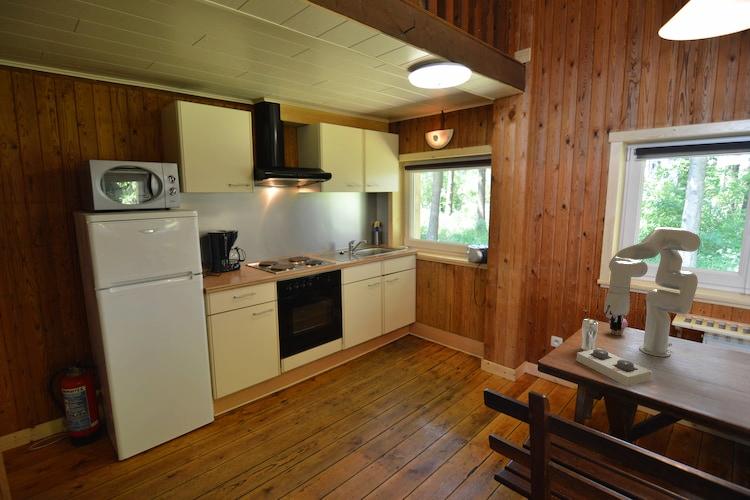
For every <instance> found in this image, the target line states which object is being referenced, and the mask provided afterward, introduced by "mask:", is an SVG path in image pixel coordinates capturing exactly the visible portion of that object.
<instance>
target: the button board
mask: <svg viewBox="0 0 750 500" xmlns="http://www.w3.org/2000/svg"><path fill="white" fill-rule="evenodd" d="M596 349H601V350H603V349H602V348H600V347H597V348H596ZM593 350H594V349H593ZM593 350H588V351H585V350H583V351H580V352H579V351H578V352H577V353H576V361H577V362H579V364H582V365H584V366H586V367H588V368H590V369H592V370H594V371H596V372H599V373H601V374H602V375H604V376H606V377H608V378H610V379H612V380H614V381H616V382H618V383H620V384H622V385H624V386H626V387H629V386H633V385H637V384H639V383H640V384H641V383H644V382H648V381H651V380H652V379H651V378H652V371H651V370H650V369H647V368H645V367H643V366H641V365H639V364H636V363H633V362H632V363H633V364H634V369H633V371H631V372H625V371H623V370H621V369H619V368H617V361H618V360H626V361H628V360H627V359H625V358H622V357H620V356H619V355H615V354H614V353H611V352H609V351H607V352H608V359H605V360H600V359H598V358H595V357H593Z"/></svg>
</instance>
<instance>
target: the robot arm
mask: <svg viewBox="0 0 750 500" xmlns="http://www.w3.org/2000/svg"><path fill="white" fill-rule="evenodd" d="M700 246H701V238H700V236H699V235H698V234H697V233H695V232H692V231H690V230H687V229H683V228H677V227H675V228H674V227H655V228H654V229H652V230H651V231H650V232H649V233H648V234H647V235H646V236H645V237H644V238H643V239H642V241H641V242H640V243H639V242H638V243H637V244H636V243H635V244H633V245H631V246H628V247H625V248H623V249H621V250H618V252H617V253H616V254H615V255H614V256H612V258H611V259H610V261H609V265H608V268H609V271H610V276H609V288H608V292H607V294H606V298H605V302H604V309H603V313H604V314H605V318H608V319H609V320H610V321H611V322H610V325H609V329H610V330H611V329H612V330H614V331H617V330H621V326H622V322H621V321H623V318H624V319H625V318H626V316H628V314H629V312H630V307H631V297H630V296H631V295H630V293H631V291H630V290H631V283H632V282H631V281H632V278H642V277H644V276H645V275H646V274H647V272H648V264H647V263H646V262H645V261H643V260H647V259H648V260H649V259H652V258H653V259H654V258H656V257H657V256H659V255H660V260H659V264H658V267H657V270H656V274H655V280H654V281H655V284H656V285H657V286H659V287H661V288H666V289H668V290H664V289H660V288H659V289H658V288H657V289H656V288H655V289H651V290H649V291H648V292H647V293H646V295H645V302H646V317H645V318H646V320H645V325H644V326H645V327H644V335H643V336H644V337H643V343H642V344H640V345H639V346H638V348H639V350H640V351H641V352H642V353H644V354H647V355H650V356H654V357H662V358H665V357H670V356H671V354H672V353H671V350H670V349H669V348H670V347H672V346H673V343H672V342H669V337H670V330H671V329H670V328H671V321H672V320H671V316H670V315H669V313H673V314H677V315H682V316H683V315H688V313H690V311H691V309H692V306H693V303H694V299H695V295H696V292H697V289H698V288H697V287H698V283H699V282H698V277H697V275H696V274H695V273H694V272H691V271H687V270H686V271H685V270H681V269H682V265H683V257H682V255H681V254H680V252H689V253H690V252H691V253H692V252H696V251H697V250H698V249H699V248H700ZM679 251H680V252H679ZM669 289H670V290H675V291H679V292H673V291H669ZM614 317H615V318H614Z"/></svg>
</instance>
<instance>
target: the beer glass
mask: <svg viewBox="0 0 750 500" xmlns="http://www.w3.org/2000/svg"><path fill="white" fill-rule="evenodd" d="M598 331H599V321H597V320H595V319H592V318H584V319H583V321H582V325H581V334H582V335H581V337H582V343H581V346H580V347H581V348H580V349H581V350H583V351H588V350H593V349H596V346H595V343H596V340H597V335H598Z"/></svg>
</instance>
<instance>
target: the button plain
mask: <svg viewBox="0 0 750 500" xmlns="http://www.w3.org/2000/svg"><path fill="white" fill-rule="evenodd" d="M601 349H602V348H600V349H597V348H595V349H594V350H593V357H595V358H598V359H600V360H605V359H608V352H609V351H606V350H604V349H602V350H601Z"/></svg>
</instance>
